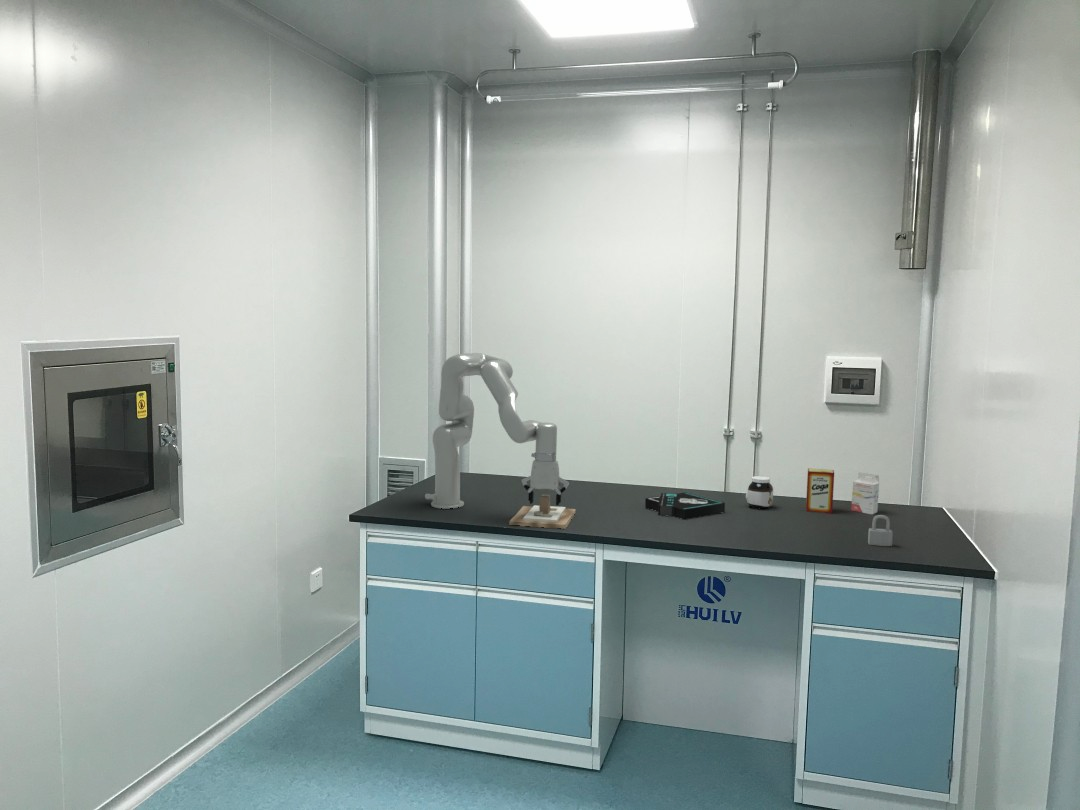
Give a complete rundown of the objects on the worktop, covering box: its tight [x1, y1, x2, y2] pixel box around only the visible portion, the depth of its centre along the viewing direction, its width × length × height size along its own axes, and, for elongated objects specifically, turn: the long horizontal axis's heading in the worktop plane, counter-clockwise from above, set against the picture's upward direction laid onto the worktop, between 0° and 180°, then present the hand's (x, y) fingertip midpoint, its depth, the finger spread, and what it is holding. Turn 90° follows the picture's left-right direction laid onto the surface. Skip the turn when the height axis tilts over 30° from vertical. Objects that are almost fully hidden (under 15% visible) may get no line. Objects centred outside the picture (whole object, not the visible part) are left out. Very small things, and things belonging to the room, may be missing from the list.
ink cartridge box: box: [850, 471, 880, 515], centre depth 318 cm, size 9×5×15 cm, turn 47°
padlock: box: [867, 514, 894, 547], centre depth 272 cm, size 7×4×10 cm, turn 75°
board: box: [508, 504, 577, 530], centre depth 301 cm, size 20×24×4 cm
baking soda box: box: [805, 467, 835, 514], centre depth 319 cm, size 10×6×16 cm
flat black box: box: [644, 492, 726, 520], centre depth 318 cm, size 30×4×30 cm
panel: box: [523, 494, 567, 523], centre depth 300 cm, size 12×20×7 cm, turn 169°
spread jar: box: [745, 475, 774, 510], centre depth 326 cm, size 12×11×12 cm
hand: (544, 503), depth 300 cm, fingers open, 9 cm apart
